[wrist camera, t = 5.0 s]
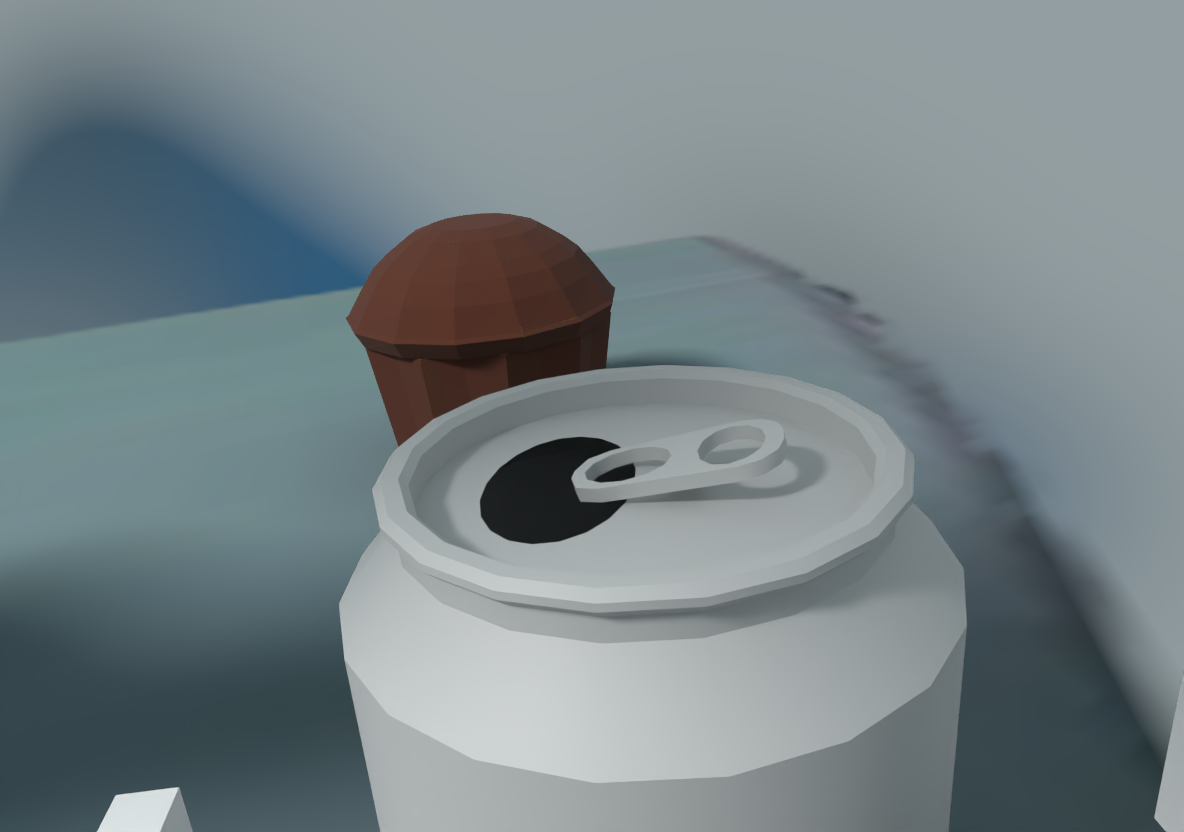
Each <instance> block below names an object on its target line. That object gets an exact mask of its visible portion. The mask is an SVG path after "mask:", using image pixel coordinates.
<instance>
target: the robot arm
mask: <svg viewBox="0 0 1184 832" xmlns="http://www.w3.org/2000/svg"><path fill="white" fill-rule="evenodd" d="M1154 818H1155V820H1156V821H1157V822H1158V823H1159V824H1160V825H1161V826H1162V828H1163V829H1164V830H1165V831H1166V832H1184V670H1183V675H1182V680H1181V685H1180V690H1179V695H1178V700H1177V705H1176V710H1175V715H1174V720H1173V725H1172V730H1171V735H1170V740H1169V746H1168V751H1167V756H1166V761H1165V766H1164V771H1163V776H1162V781H1161V786H1160V791H1159V796H1158V801H1157V806H1156V811H1155V816H1154ZM97 832H193V831H192V828H191V824H190V821H189V818H188V815H187V811H186V808H185V805H184V801H183V798H182V795H181V792H180V788H179V787H176V788H168V789H160V790H152V791H144V792H137V793H129V794H121V795H116V796H115V798H114V800H113V802H112V804H111V806H110V808H109V809H108V811H107V813H106V815H105V817H104V819H103V821H102V823H101V825H100V827H99V829H98V831H97Z"/></svg>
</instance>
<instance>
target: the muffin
mask: <svg viewBox="0 0 1184 832" xmlns="http://www.w3.org/2000/svg"><path fill="white" fill-rule="evenodd" d="M614 291H615V287H613V286H612V285H611V284H610V283H609V281H608V280H607V279H606V278H605V276H604V275H603V274H602V273H601V272H600V270H599V269H598V268H597V267H596V265H595V264H594V263H593V262H592V261H591V259H590V258H589V257H588V256H587V255H586V254H585V253H584V252H583V251H582V249H581V248H580V247H579V246H578V245H576V244H575V243H573V242H572V241H571V240H569V239H568V238H566V237H565V236H563V235H561V234H560V233H558V232H556V231H554V230H552V229H550V228H549V227H547V226H545V225H543V224H541V223H539V222H537V221H535V220H533V219H531V218H527V217H522V216H516V215H511V214H501V213H490V214H489V213H488V214H473V215H463V216H458V217H453V218H447V219H444V220H441V221H437V222H434V223H432V224H430V225H427V226H425V227H422V228H420V229H417V230H416V231H414V232H413V233H412V234H410V235H409V236H408V237H406V238H405V239H404V240H403V241H402V242H401V243H399V244H398V245H397V246H396V247H395V248H393V249H392V250H391V251H390V252H389V253H388V254H386V256H385V257H384V258H383V259H382V260H381V261H380V262H379V263H378V264H377V265H376V266H375V267H374V268H373V270H372V272H371V274H370V275H369V277H368V279H367V281H366V283H365V284H364V286H363V288H362V290H361V292H360V294H359V296H358V298H357V300H356V302H355V304H354V306H353V308H352V310H351V312H350V314H349V315H348V317H347V318H346V319H347V321H348V323H349V325H350V326H351V328H352V330H353V332H354V334H355V335H356V336H357V338H358V339H359V340H360V342H361V343H362V344H363V345H364V347H365V348H366V351H367V354H368V357H369V360H370V363H371V366H372V369H373V372H374V375H375V378H376V381H377V384H378V387H379V390H380V393H381V396H382V399H383V401H384V404H385V407H386V410H387V413H388V416H389V419H390V422H391V425H392V428H393V431H394V434H395V437H396V440H397V443H398V446H400V445H402V444H403V443H404V442H405V441H407V440H408V439H409V438H410V437H412V436H413V435H414V434H415V433H417V432H418V431H419V430H420V429H422V428H423V427H424V426H425V425H427V424H428V423H429V422H430V421H432V420H433V419H435V418H437V417H439V416H441V415H443V414H446V413H448V412H450V411H452V410H454V409H456V408H458V407H460V406H463V405H465V404H467V403H469V402H471V401H473V400H475V399H477V398H479V397H482V396H485V395H488V394H492V393H495V392H499V391H502V390H505V389H509V388H512V387H515V386H519V385H522V384H526V383H529V382H532V381H536V380H540V379H546V378H551V377H557V376H563V375H569V374H575V373H581V372H586V371H592V370H598V369H606V360H607V349H608V338H609V327H610V316H611V312H610V310H611V306H612V303H613V297H614Z"/></svg>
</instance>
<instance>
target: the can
mask: <svg viewBox="0 0 1184 832" xmlns="http://www.w3.org/2000/svg"><path fill="white" fill-rule="evenodd" d="M914 459H915V456H914V455H913V454H912V453H911V451H910V450H909V449H908V447H907V446H906V445H905V443H904V442H903V441H902V439H901V438H900V437H899V435H898V434H897V433H896V431H895V430H894V429H893V427H892V426H891V425H890V423H888V422H887V421H886V420H885V419H883V418H882V417H881V416H879V415H877V414H875V413H874V412H872V411H870V410H868V409H867V408H865V407H863V406H862V405H860V404H858V403H856V402H855V401H853V400H851V399H850V398H848V397H846V396H844V395H843V394H841V393H838V392H835V391H832V390H828V389H825V388H822V387H819V386H816V385H812V384H809V383H806V382H803V381H800V380H796V379H793V378H790V377H786V376H780V375H773V374H767V373H760V372H754V371H747V370H741V369H734V368H728V367H704V366H677V365H656V366H641V367H626V368H610V369H598V370H592V371H586V372H581V373H575V374H569V375H563V376H557V377H551V378H546V379H540V380H536V381H532V382H529V383H526V384H522V385H519V386H515V387H512V388H509V389H505V390H502V391H499V392H495V393H492V394H488V395H485V396H482V397H479V398H477V399H475V400H473V401H471V402H469V403H467V404H465V405H463V406H460V407H458V408H456V409H454V410H452V411H450V412H448V413H446V414H443V415H441V416H439V417H437V418H435V419H433V420H432V421H430V422H429V423H428V424H427V425H425V426H424V427H423V428H422V429H420V430H419V431H418V432H417V433H415V434H414V435H413V436H412V437H410V438H409V439H408V440H407V441H405V442H404V443H403V444H402V445H400V446H399V447H398V448H397V449H396V450H395V451H394V452H393V453H392V454H391V455H390V457H389V459H388V461H387V463H386V465H385V467H384V468H383V470H382V472H381V474H380V476H379V478H378V480H377V482H376V484H375V486H374V487H373V489H372V492H373V497H374V502H375V507H376V512H377V517H378V522H379V527H380V532H379V533H378V535H377V536H376V537H375V539H374V540H373V541H372V542H371V544H370V545H369V546H368V548H367V549H366V550H365V552H364V553H363V554H362V556H361V559H360V561H359V563H358V565H357V567H356V569H355V571H354V573H353V575H352V577H351V579H350V582H349V584H348V586H347V588H346V590H345V592H344V594H343V596H342V598H341V600H340V602H339V609H340V619H341V630H342V640H343V650H344V660H345V664H346V669H347V674H348V679H349V684H350V688H351V693H352V698H353V703H354V708H355V712H356V717H357V722H358V727H359V732H360V736H361V741H362V746H363V751H364V756H365V760H366V765H367V770H368V775H369V780H370V784H371V789H372V794H373V799H374V803H375V808H376V813H377V818H378V823H379V827H380V832H949V820H950V809H951V798H952V787H953V776H954V765H955V754H956V742H957V731H958V720H959V709H960V698H961V687H962V675H963V664H964V653H965V642H966V631H967V617H966V599H965V581H964V568H963V566H962V565H961V564H960V562H959V561H958V559H957V558H956V556H955V555H954V553H953V552H952V550H951V549H950V547H949V546H948V545H947V543H946V542H945V540H944V539H943V537H942V536H941V534H940V533H939V531H938V530H937V529H936V527H935V526H934V524H933V523H932V521H931V520H930V519H929V518H928V517H927V516H926V515H925V514H924V513H923V512H922V511H921V510H920V509H919V508H918V507H917V506H916V505H915V504H914V503H913V483H914Z"/></svg>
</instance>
